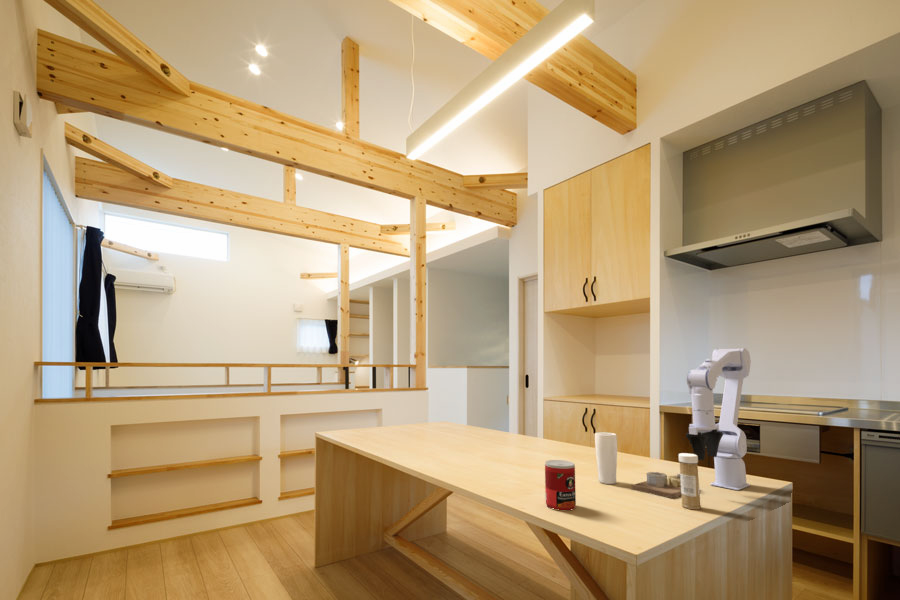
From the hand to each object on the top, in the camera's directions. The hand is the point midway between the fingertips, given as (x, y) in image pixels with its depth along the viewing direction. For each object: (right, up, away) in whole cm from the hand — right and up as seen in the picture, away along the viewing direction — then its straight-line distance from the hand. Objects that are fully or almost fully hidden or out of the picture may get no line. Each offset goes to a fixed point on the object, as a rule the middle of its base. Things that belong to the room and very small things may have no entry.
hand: (706, 457), depth 134 cm
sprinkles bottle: (-12, -8, -14) cm, 20 cm away
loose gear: (-13, -9, +4) cm, 16 cm away
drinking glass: (-25, -12, +11) cm, 30 cm away
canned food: (-46, -8, -14) cm, 49 cm away
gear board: (-10, -11, +4) cm, 15 cm away
